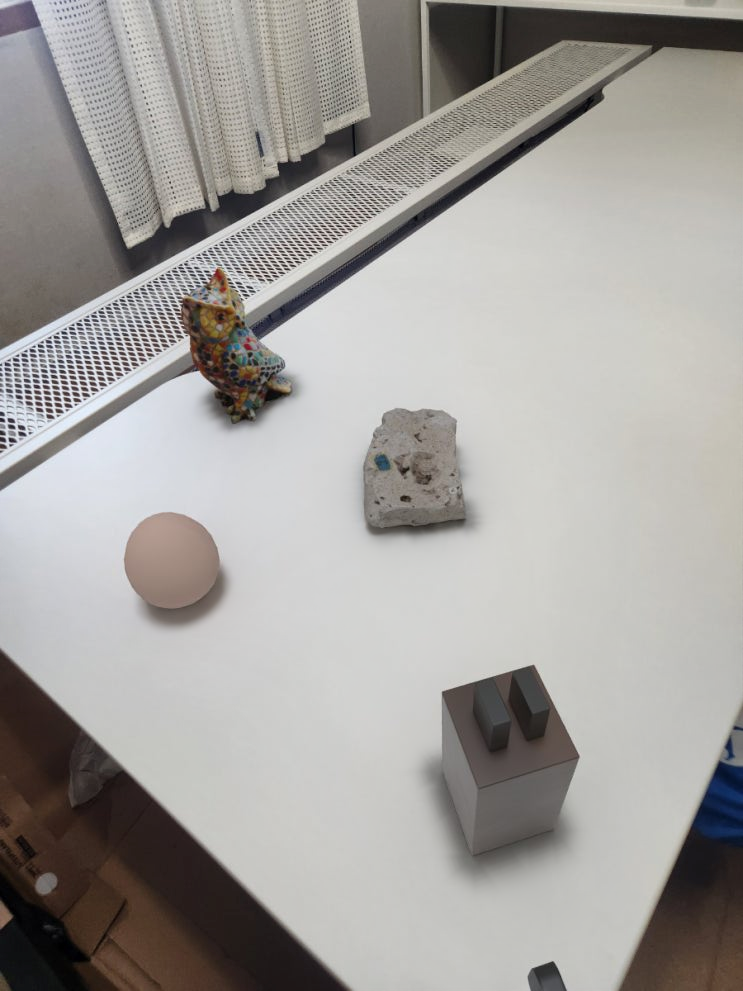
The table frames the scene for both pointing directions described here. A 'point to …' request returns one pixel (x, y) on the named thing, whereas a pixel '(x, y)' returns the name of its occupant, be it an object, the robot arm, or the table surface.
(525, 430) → the table surface
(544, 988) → the robot arm
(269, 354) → the figurine
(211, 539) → the egg
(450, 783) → the knife block
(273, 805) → the table surface
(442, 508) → the stone
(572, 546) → the table surface
